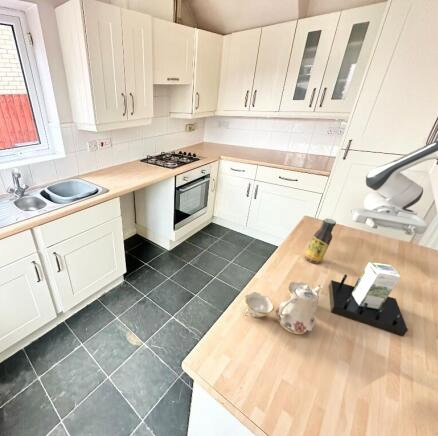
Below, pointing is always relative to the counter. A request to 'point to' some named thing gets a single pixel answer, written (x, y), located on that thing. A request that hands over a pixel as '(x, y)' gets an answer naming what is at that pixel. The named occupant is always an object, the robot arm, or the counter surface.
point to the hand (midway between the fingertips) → (392, 229)
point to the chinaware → (288, 308)
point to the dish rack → (366, 309)
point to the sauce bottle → (320, 242)
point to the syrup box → (375, 285)
